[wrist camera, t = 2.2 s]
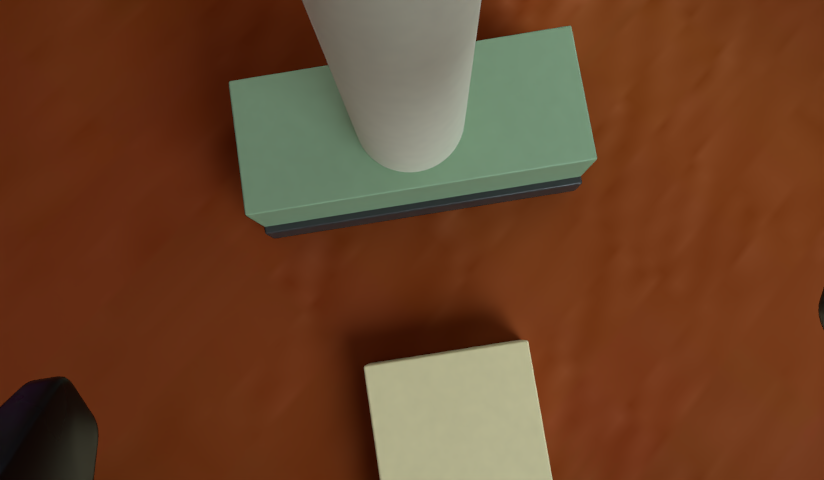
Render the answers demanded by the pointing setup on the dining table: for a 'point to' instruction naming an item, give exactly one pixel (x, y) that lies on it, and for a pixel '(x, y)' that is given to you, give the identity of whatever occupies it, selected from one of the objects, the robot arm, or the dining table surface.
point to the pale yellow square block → (458, 415)
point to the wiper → (409, 118)
